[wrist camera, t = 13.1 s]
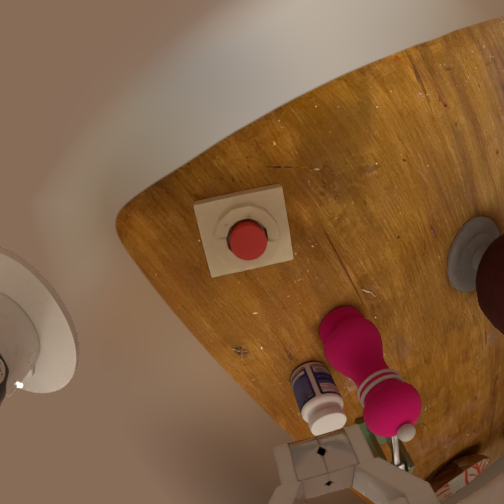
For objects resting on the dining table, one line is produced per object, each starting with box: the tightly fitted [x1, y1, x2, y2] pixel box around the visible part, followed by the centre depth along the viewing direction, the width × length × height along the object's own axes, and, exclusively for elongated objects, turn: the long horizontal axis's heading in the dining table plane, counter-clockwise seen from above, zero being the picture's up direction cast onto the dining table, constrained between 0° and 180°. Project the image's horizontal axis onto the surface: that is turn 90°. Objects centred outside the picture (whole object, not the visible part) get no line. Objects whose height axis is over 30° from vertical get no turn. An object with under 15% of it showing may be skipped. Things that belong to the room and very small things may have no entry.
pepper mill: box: [319, 306, 421, 441], centre depth 31 cm, size 7×7×20 cm
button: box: [230, 221, 267, 260], centre depth 30 cm, size 3×3×2 cm
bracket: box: [355, 417, 415, 474], centre depth 45 cm, size 11×9×13 cm
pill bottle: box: [291, 362, 346, 436], centre depth 38 cm, size 6×6×10 cm
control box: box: [193, 184, 294, 278], centre depth 33 cm, size 9×8×4 cm
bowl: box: [431, 454, 491, 501], centre depth 66 cm, size 25×25×8 cm
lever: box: [390, 435, 405, 471], centre depth 42 cm, size 14×3×3 cm, turn 11°
